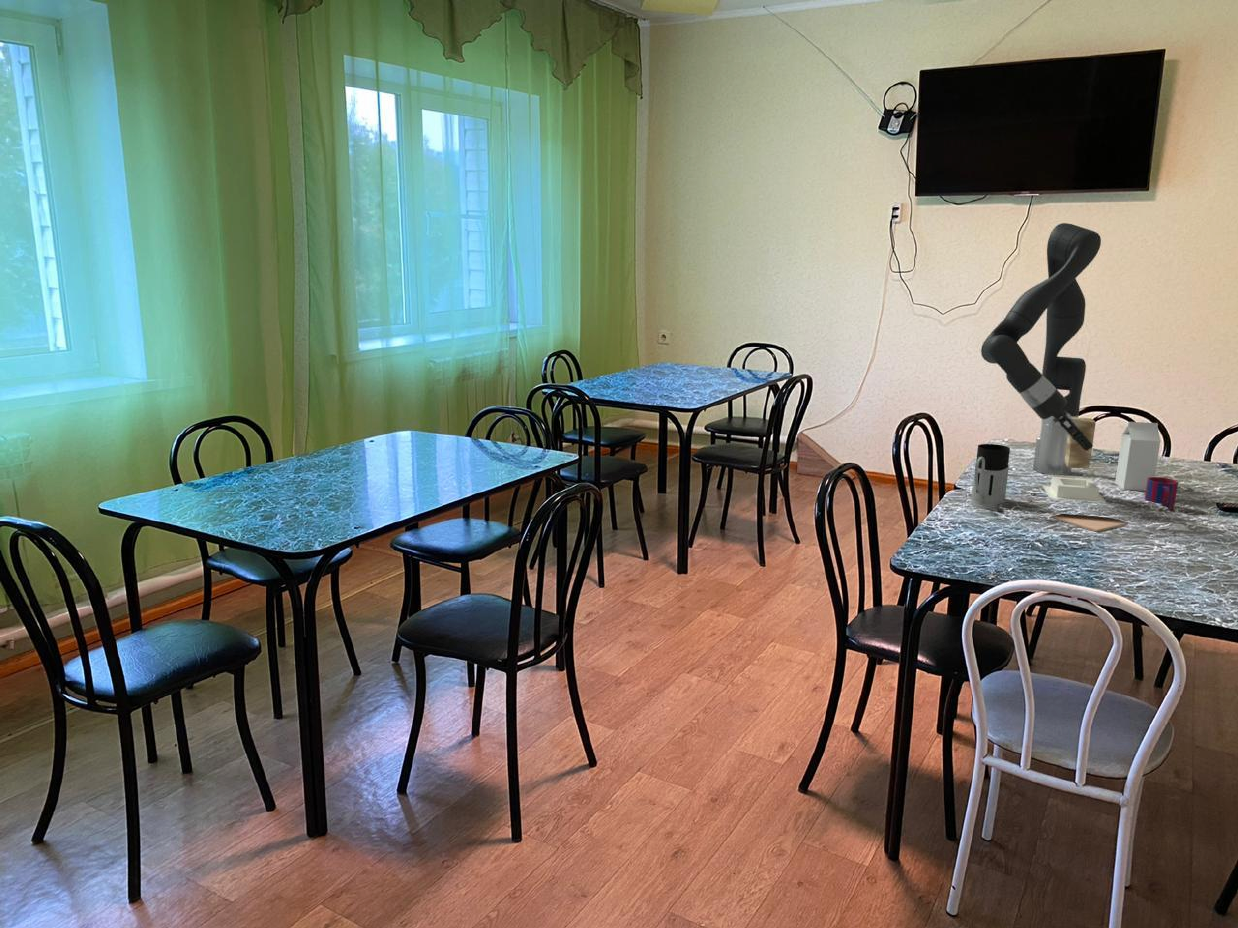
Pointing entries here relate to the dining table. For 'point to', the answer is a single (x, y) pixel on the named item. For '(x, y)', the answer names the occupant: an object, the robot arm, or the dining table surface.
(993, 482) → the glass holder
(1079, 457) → the oak bar
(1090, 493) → the socket stand
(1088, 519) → the terracotta mat
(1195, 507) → the dining table surface
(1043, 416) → the robot arm
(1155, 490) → the mug
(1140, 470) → the milk carton
